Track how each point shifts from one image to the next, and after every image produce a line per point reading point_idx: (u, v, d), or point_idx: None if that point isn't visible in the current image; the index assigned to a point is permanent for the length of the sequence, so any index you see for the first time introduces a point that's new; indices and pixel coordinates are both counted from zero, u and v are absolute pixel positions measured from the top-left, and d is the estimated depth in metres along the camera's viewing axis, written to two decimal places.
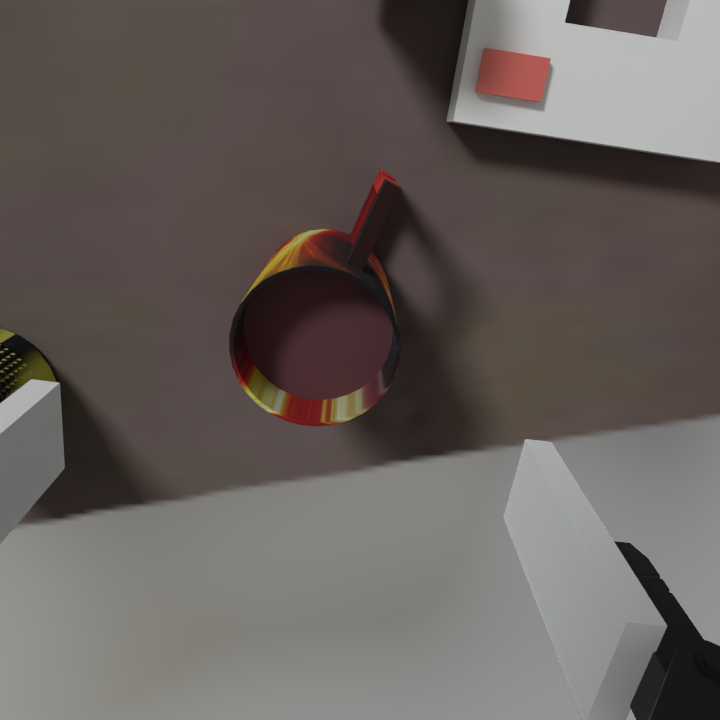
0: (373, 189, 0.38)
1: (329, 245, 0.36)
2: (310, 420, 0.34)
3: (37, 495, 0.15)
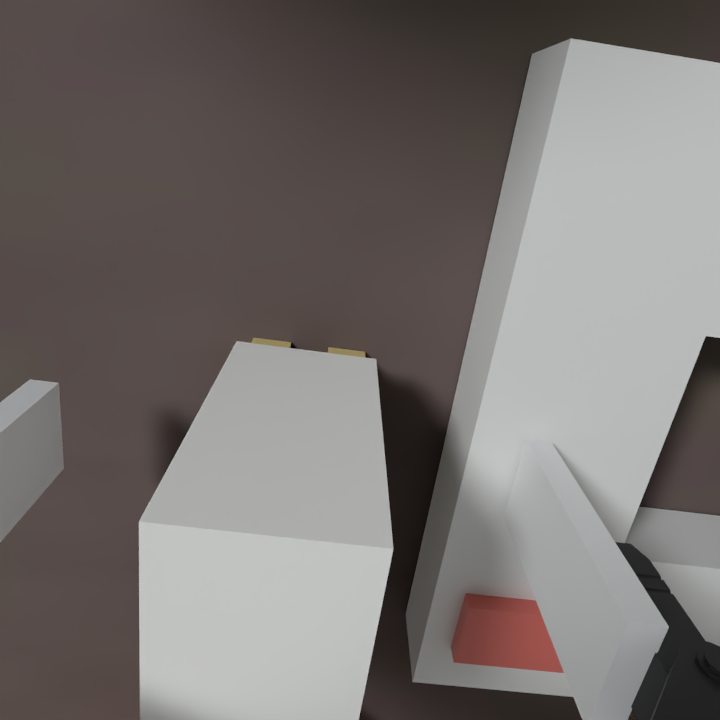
0: None
1: None
2: None
3: (36, 495, 0.15)
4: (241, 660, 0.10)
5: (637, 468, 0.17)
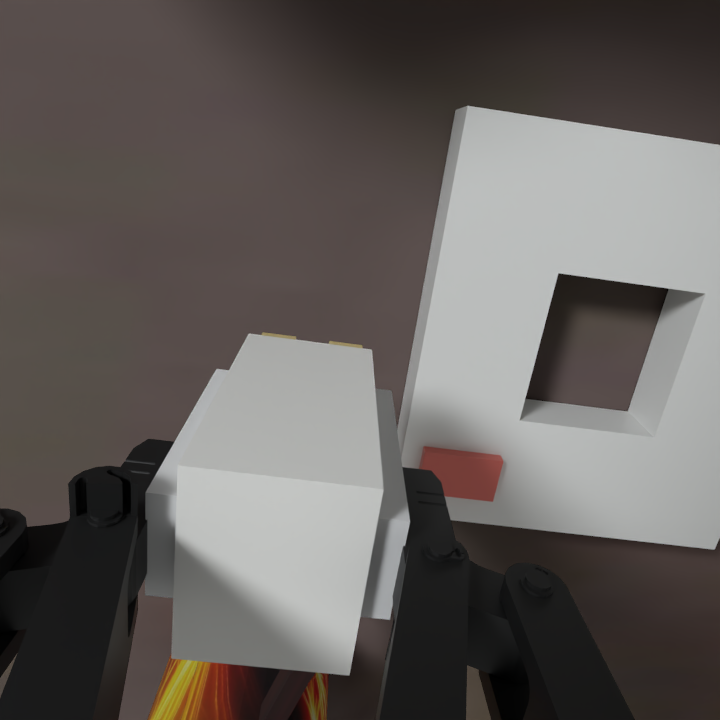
0: None
1: None
2: None
3: None
4: (258, 588, 0.12)
5: (525, 358, 0.28)
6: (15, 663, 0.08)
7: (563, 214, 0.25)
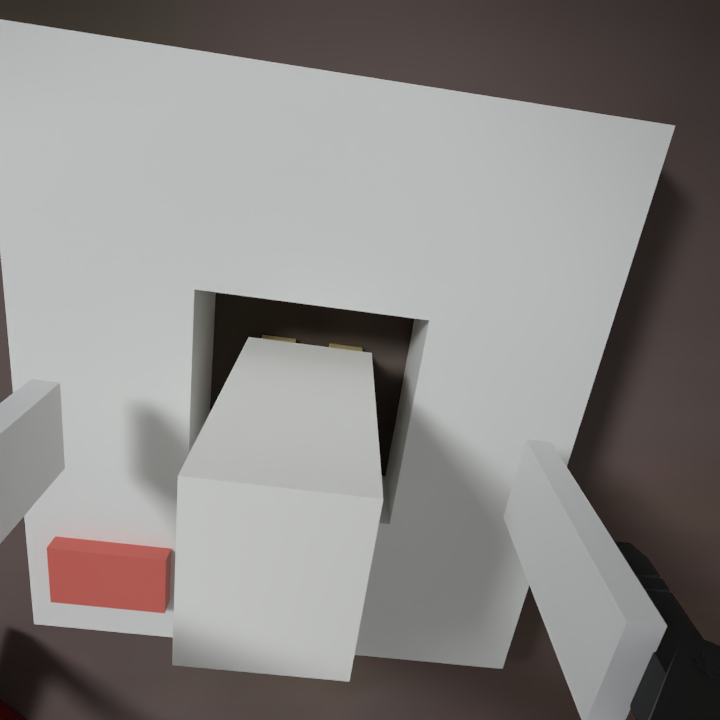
0: None
1: None
2: None
3: (37, 495, 0.15)
4: (258, 596, 0.12)
5: (174, 415, 0.18)
6: None
7: (180, 198, 0.16)
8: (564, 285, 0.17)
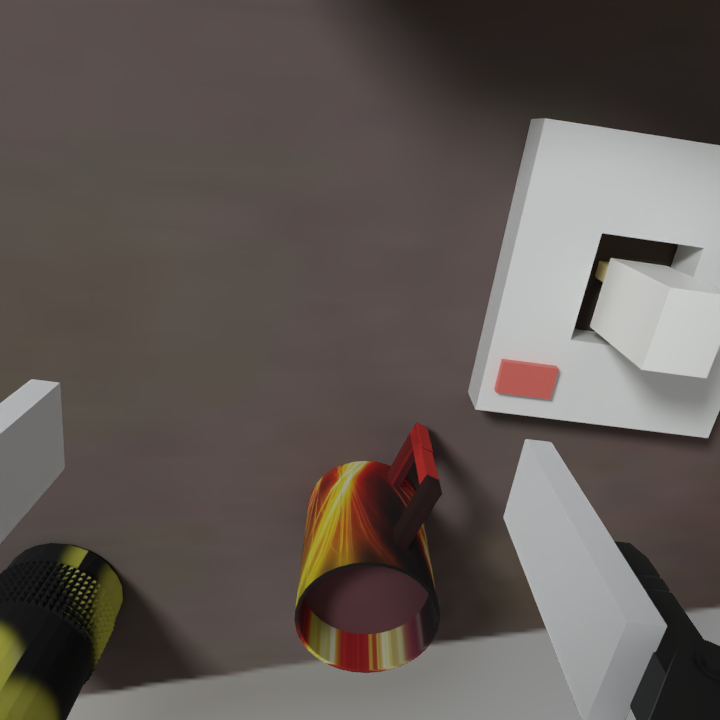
0: (411, 445, 0.44)
1: (375, 505, 0.42)
2: (360, 667, 0.40)
3: (37, 495, 0.15)
4: (683, 338, 0.33)
5: (577, 294, 0.39)
6: None
7: (606, 192, 0.37)
8: None
